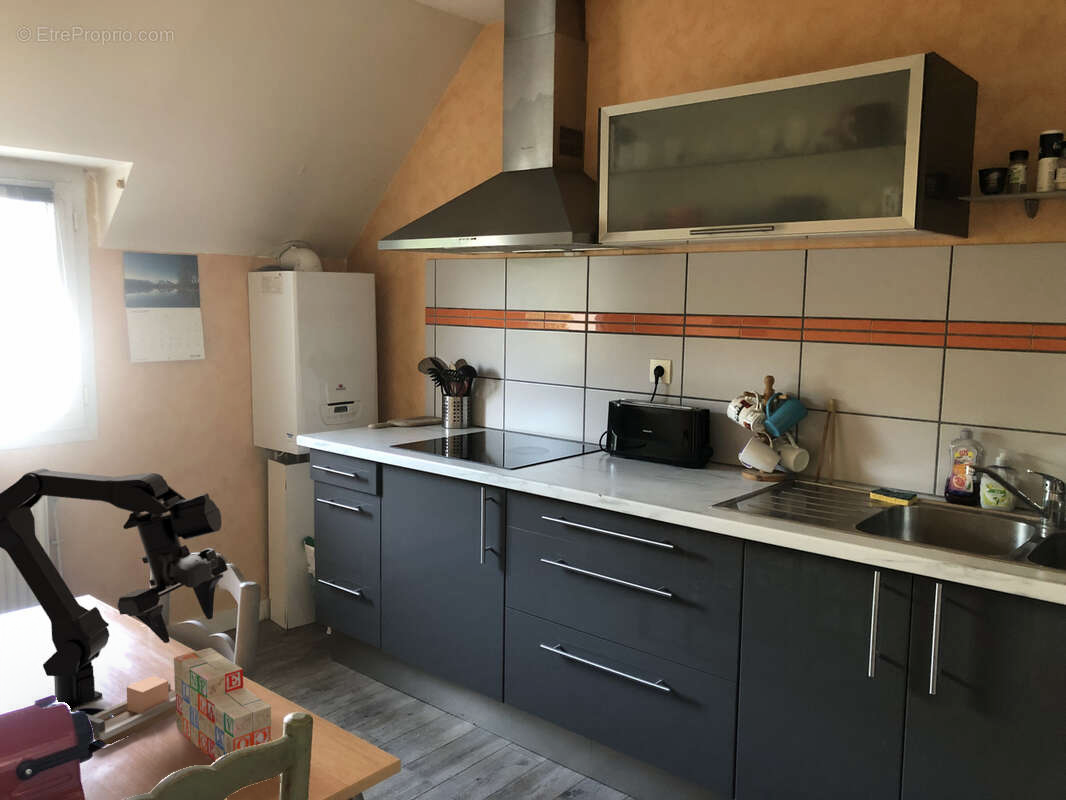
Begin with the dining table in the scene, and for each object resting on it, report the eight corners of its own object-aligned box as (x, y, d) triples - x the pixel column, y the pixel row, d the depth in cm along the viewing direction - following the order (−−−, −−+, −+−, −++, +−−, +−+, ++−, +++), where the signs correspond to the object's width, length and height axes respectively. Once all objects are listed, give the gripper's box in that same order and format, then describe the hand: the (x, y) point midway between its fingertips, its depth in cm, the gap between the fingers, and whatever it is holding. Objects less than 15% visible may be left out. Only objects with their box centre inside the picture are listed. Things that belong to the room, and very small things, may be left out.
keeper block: (127, 709, 143) (126, 686, 142) (153, 698, 147) (152, 675, 147) (143, 715, 141) (142, 692, 140) (168, 703, 145) (168, 680, 145)
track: (75, 738, 136) (74, 714, 136) (166, 695, 151) (166, 674, 151) (103, 749, 133) (103, 724, 133) (194, 704, 148) (193, 682, 148)
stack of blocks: (272, 764, 130) (271, 687, 128) (233, 779, 125) (231, 699, 124) (212, 715, 145) (210, 645, 144) (175, 727, 141) (173, 655, 139)
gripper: (144, 562, 134) (174, 654, 136) (235, 522, 150) (260, 605, 152) (103, 567, 140) (131, 656, 141) (194, 529, 156) (219, 608, 157)
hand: (189, 630), depth 148 cm, fingers open, 9 cm apart
